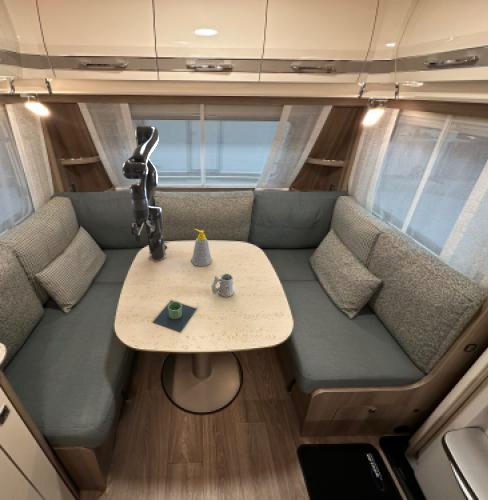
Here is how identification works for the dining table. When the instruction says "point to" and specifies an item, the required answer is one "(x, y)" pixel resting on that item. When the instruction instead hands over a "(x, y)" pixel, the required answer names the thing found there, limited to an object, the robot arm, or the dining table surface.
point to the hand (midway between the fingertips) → (143, 237)
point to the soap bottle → (201, 251)
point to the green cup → (175, 310)
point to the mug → (223, 285)
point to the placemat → (175, 323)
